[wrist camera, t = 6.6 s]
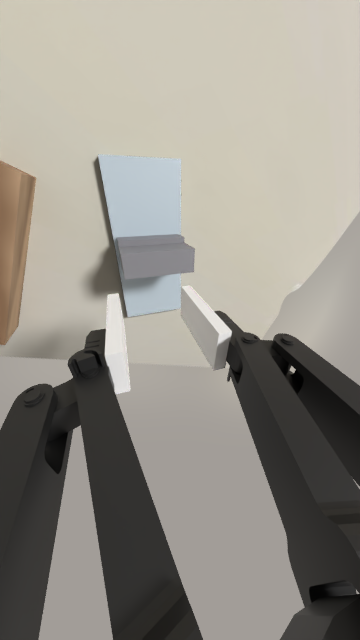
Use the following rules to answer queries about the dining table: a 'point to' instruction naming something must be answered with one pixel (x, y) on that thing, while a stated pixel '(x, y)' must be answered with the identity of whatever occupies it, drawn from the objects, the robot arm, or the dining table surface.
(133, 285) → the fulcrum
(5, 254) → the bar
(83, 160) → the dining table surface
